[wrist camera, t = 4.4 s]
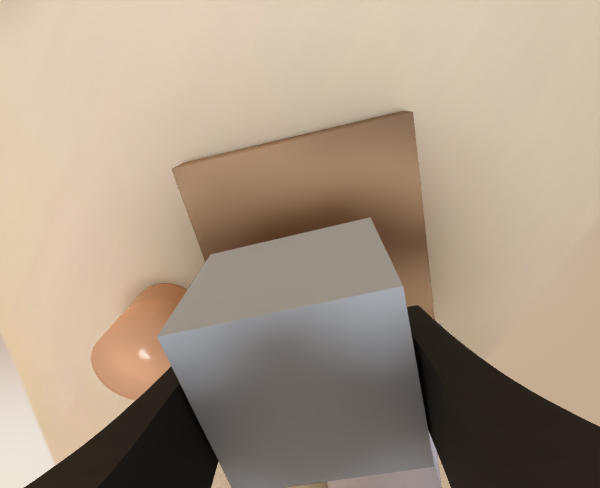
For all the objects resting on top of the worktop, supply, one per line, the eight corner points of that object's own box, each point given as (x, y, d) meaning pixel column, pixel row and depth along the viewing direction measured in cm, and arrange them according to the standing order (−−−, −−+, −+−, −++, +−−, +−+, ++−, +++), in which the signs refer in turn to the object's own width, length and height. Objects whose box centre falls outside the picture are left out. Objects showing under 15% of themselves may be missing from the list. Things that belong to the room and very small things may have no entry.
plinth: (426, 308, 20) (435, 325, 19) (245, 338, 22) (239, 356, 20) (404, 110, 16) (412, 112, 15) (183, 163, 18) (171, 168, 16)
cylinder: (216, 338, 22) (192, 394, 18) (151, 349, 23) (114, 406, 18) (192, 277, 20) (160, 323, 16) (123, 290, 21) (75, 338, 17)
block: (396, 351, 13) (434, 466, 9) (258, 377, 14) (235, 494, 10) (370, 217, 11) (403, 286, 7) (210, 254, 12) (156, 336, 8)
